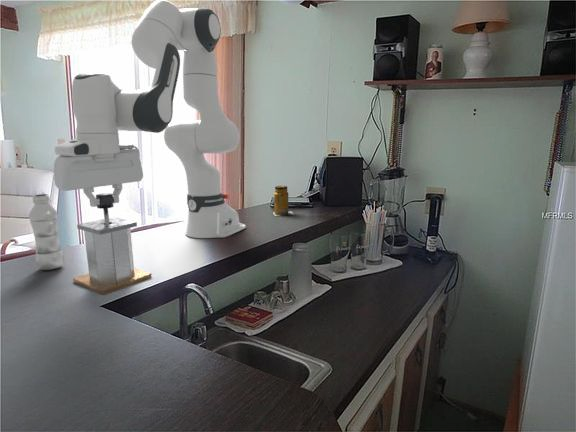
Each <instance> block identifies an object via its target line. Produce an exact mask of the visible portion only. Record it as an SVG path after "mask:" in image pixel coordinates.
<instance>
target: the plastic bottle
mask: <svg viewBox="0 0 576 432" xmlns="http://www.w3.org/2000/svg"><path fill="white" fill-rule="evenodd" d="M50 202H51V200H50V195H49V194H47V193H41V194H33V195H32V203H33V204H34V205H33V207H32V208H31V210H30V212H28V213H29V214H28V219H29V221H30V225H31V228H32V232H33V236H34V240H35V264H36V267H37V268H39V270H42V271H48V270H49V271H51V270H56V269H59V268H61V267H62V266H63V264H64V263H65V262H64V261H65V256H64V253H63V250H62V246H61V245H60V244H61V243H60V239H59V232H58V230H59V229H58V225H59V224H58V222H59V221H58V215H59V214H58V212H57V210H56V209H55V207H53V205H51V204H50Z"/></svg>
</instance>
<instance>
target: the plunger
mask: <svg viewBox="0 0 576 432" xmlns="http://www.w3.org/2000/svg"><path fill="white" fill-rule="evenodd" d="M112 194H113V193H98V194H95V198H98V199H100V202H99V203H100V206H96V208H97V209H103V219H104V220H105V225H108V224H109V218H110V217H109V209H111V208H114V203H113V195H112Z"/></svg>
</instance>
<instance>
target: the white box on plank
mask: <svg viewBox="0 0 576 432" xmlns="http://www.w3.org/2000/svg"><path fill="white" fill-rule="evenodd" d="M137 224H138V223H137V222H136V221H133V220H129V219H124V218H119V217H115V216H114V217H109V224H108V225H105V220H104V218H103V219H98V220H93V221H88V222H84V223H79V224H76V227H77V230H81V231H83V233H84V234H83V235H84V241H85V242H84V243H85V251H86V259H87V268H88V269H87V270H88V273H87V274H83V275H80V276H77V277H73V278H72V280H73V281H72V282H73V283H74V284H77V285H79V286H81V287H83V288H87V289H89V290H91V291H93V292H95V293H98V294H100V295H102V296H103V295H106V294H110V293H112V292H115V291H117V290H120V289H123V288H127V287H129V286H131V285H134V284H137V283H139V282H142V281H145V279H146V280H148V279H151V278H152V273H150V272H147V271H144V270H141V269H138V268H135V264H134V254H133V243H132V242H133V241H132V232H131V231H132V230H131V228H135V227H138V225H137ZM147 278H148V279H147Z"/></svg>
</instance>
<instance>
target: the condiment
mask: <svg viewBox="0 0 576 432" xmlns="http://www.w3.org/2000/svg"><path fill="white" fill-rule="evenodd" d="M273 194H274V195H273V196H274V197H273V198H274V199H273V200H274V201H273V206H274V207H273V208H274V211H273V212H272V214H273V216H274V217H277V216H278V217H282V216H295V213H293V211H289V192H288V186H286V185H276V186H275V187H274V193H273Z"/></svg>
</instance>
